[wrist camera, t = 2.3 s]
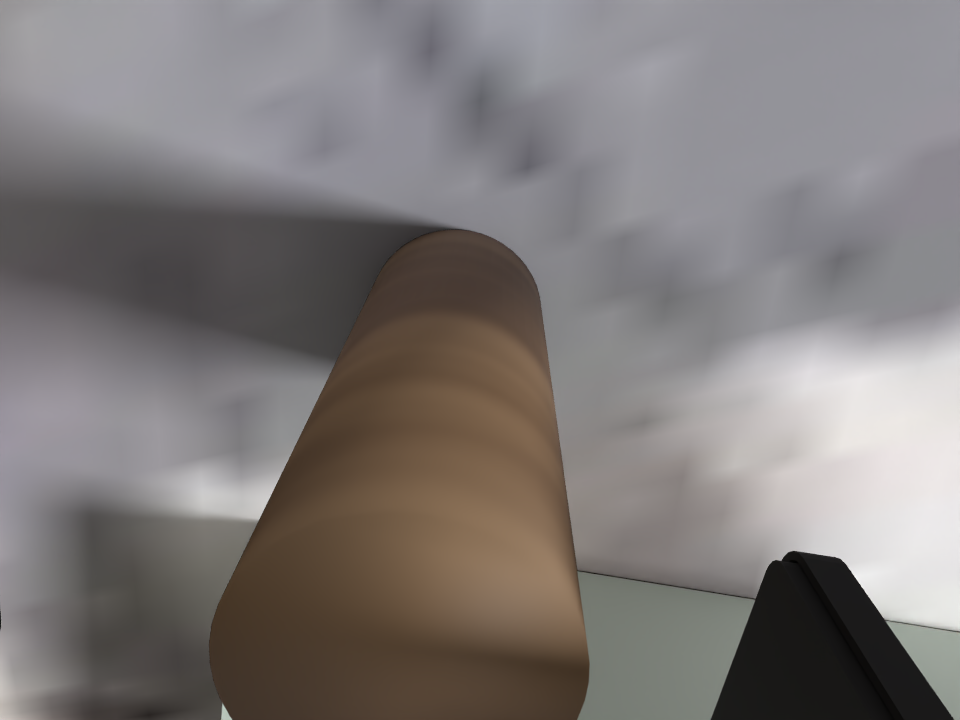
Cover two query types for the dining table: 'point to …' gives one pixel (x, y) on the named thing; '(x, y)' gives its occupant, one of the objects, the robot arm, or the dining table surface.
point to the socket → (696, 650)
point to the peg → (418, 517)
